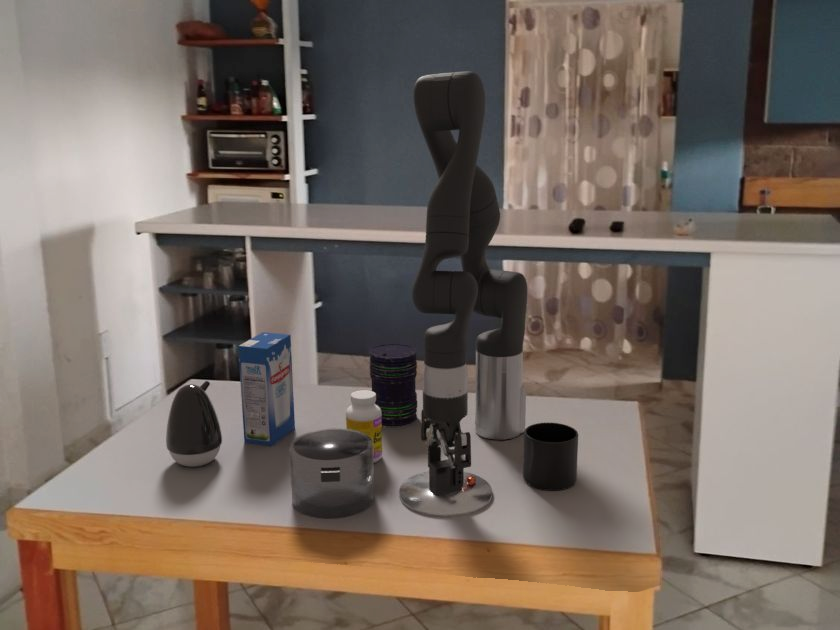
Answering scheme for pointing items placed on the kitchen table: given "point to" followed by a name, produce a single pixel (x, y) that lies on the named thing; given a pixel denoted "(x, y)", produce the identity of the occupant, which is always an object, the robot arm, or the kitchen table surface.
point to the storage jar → (394, 383)
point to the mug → (550, 456)
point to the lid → (444, 492)
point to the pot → (332, 472)
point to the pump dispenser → (193, 427)
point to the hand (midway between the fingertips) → (445, 477)
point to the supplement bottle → (366, 419)
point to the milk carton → (266, 388)
